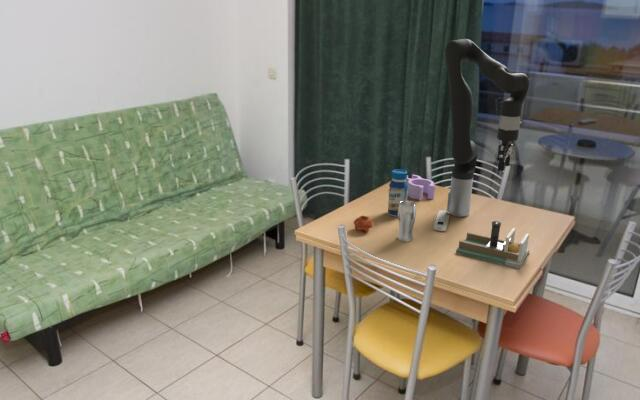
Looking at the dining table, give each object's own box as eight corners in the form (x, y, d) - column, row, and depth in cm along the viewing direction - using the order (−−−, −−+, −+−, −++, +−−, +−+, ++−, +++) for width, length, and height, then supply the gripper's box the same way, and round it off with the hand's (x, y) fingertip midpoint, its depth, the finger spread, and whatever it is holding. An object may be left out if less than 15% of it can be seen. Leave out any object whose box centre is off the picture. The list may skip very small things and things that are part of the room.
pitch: (456, 253, 195) (458, 229, 192) (469, 238, 208) (471, 216, 205) (519, 268, 184) (523, 244, 181) (529, 252, 197) (532, 229, 193)
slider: (485, 250, 194) (488, 224, 190) (490, 243, 199) (493, 218, 196) (504, 255, 190) (508, 228, 187) (509, 248, 196) (513, 222, 192)
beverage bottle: (410, 214, 232) (413, 172, 225) (396, 218, 228) (398, 175, 221) (397, 209, 239) (400, 167, 232) (383, 212, 234) (385, 170, 227)
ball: (520, 250, 188) (514, 257, 190) (522, 246, 191) (516, 253, 193) (510, 243, 189) (504, 251, 191) (513, 239, 192) (507, 247, 194)
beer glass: (403, 243, 203) (405, 207, 198) (392, 236, 209) (395, 202, 204) (417, 240, 206) (420, 204, 201) (407, 233, 212) (409, 199, 207)
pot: (358, 224, 221) (362, 210, 218) (373, 232, 217) (378, 218, 214) (348, 229, 214) (352, 215, 211) (364, 238, 211) (368, 224, 208)
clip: (397, 188, 267) (398, 176, 264) (419, 186, 270) (420, 174, 268) (415, 201, 249) (416, 188, 247) (438, 199, 252) (439, 185, 250)
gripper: (503, 123, 205) (498, 162, 210) (493, 129, 193) (488, 171, 199) (523, 125, 201) (517, 165, 207) (514, 131, 190) (508, 174, 195)
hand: (503, 168), depth 203 cm, fingers open, 8 cm apart
